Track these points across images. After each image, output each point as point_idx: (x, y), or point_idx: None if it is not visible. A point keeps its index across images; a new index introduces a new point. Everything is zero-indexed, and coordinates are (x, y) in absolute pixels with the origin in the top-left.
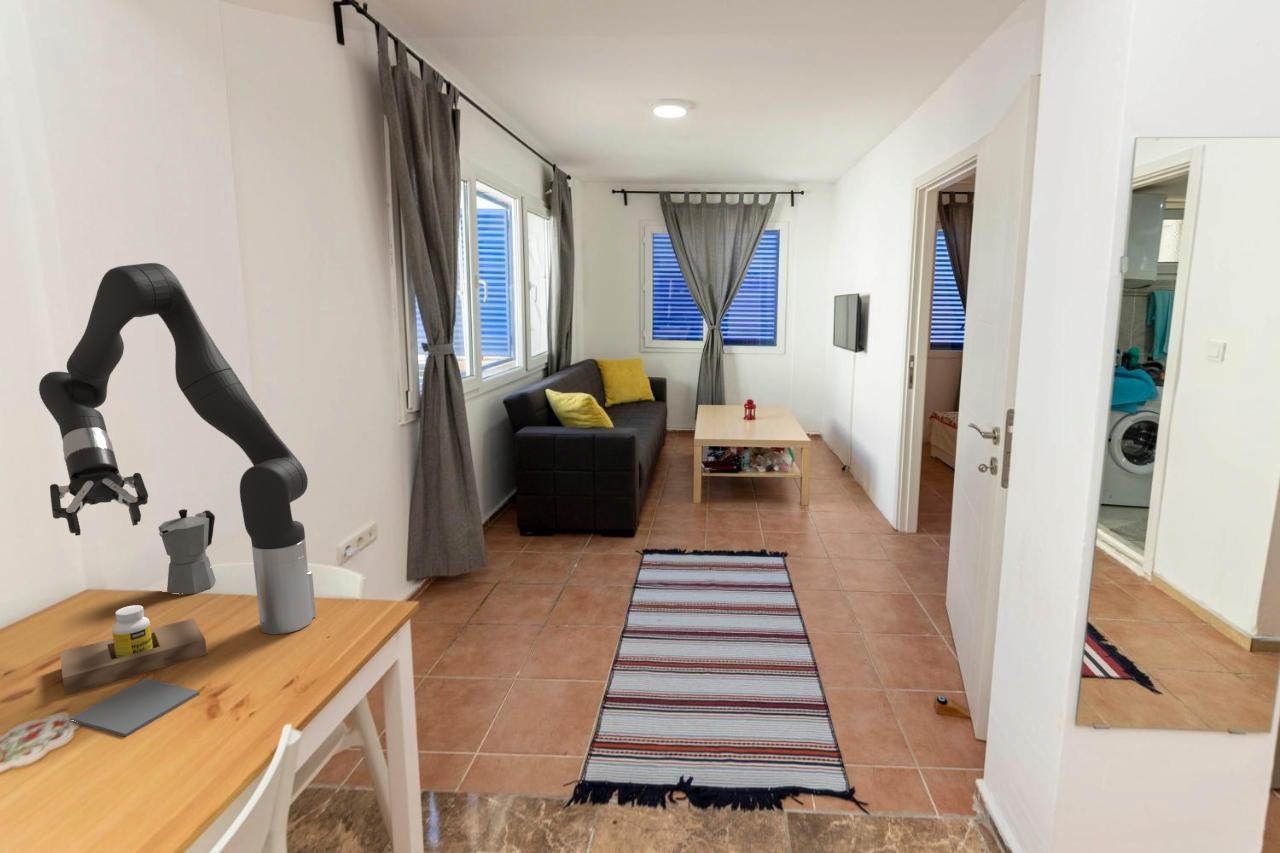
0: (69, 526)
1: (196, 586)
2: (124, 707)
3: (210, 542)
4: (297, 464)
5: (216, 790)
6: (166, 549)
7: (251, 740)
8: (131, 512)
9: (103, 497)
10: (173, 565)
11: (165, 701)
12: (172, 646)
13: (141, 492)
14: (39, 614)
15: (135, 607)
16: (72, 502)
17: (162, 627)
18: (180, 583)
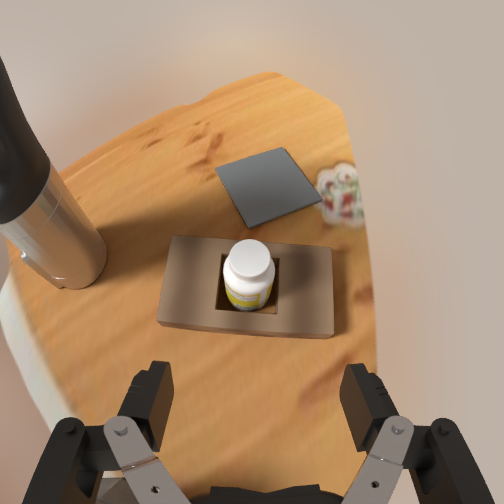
0: (381, 382)
1: (114, 481)
2: (277, 183)
3: None
4: None
5: (246, 82)
6: None
7: (212, 101)
8: (159, 383)
9: (251, 495)
10: None
11: (244, 169)
12: (209, 242)
13: (69, 446)
14: None
15: (239, 260)
16: (399, 461)
17: (201, 319)
18: (132, 497)
